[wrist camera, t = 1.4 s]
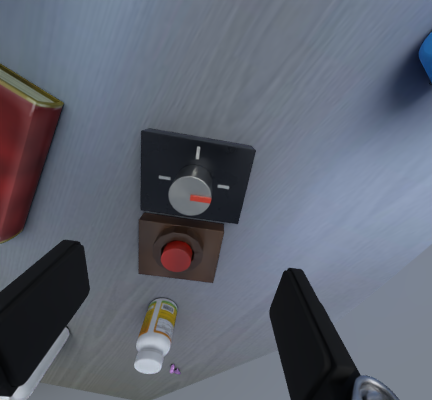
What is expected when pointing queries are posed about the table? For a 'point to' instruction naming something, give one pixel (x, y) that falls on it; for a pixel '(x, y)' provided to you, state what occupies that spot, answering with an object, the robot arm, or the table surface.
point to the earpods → (174, 370)
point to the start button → (176, 256)
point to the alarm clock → (427, 56)
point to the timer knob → (191, 190)
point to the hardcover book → (22, 146)
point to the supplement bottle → (155, 336)
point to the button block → (186, 232)
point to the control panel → (194, 155)
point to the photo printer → (39, 369)
